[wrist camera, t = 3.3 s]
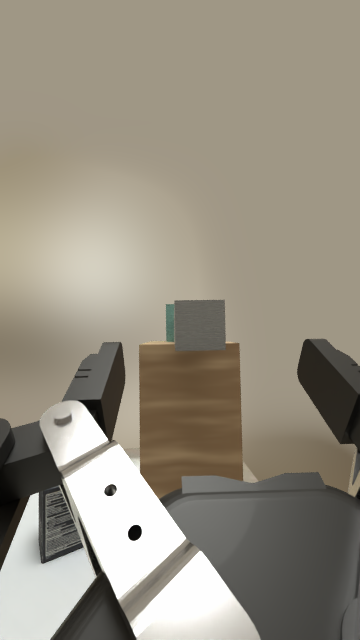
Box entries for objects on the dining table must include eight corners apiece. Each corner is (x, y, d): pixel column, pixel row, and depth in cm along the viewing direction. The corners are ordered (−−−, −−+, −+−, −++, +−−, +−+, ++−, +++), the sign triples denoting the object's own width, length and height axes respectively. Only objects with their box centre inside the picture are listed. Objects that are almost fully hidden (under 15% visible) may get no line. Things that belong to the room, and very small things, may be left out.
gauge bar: (250, 349, 16) (248, 266, 16) (158, 351, 16) (157, 267, 16) (202, 340, 42) (202, 308, 42) (167, 340, 42) (167, 308, 42)
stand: (248, 684, 26) (239, 343, 27) (141, 689, 25) (139, 344, 27) (221, 560, 40) (216, 340, 41) (153, 563, 39) (150, 341, 41)
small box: (101, 514, 50) (101, 456, 51) (112, 536, 45) (112, 470, 45) (37, 537, 45) (38, 471, 45) (41, 565, 39) (41, 490, 40)
